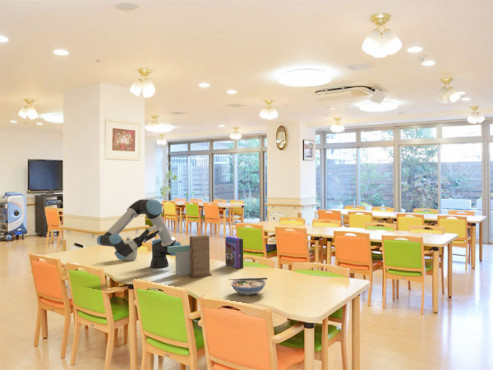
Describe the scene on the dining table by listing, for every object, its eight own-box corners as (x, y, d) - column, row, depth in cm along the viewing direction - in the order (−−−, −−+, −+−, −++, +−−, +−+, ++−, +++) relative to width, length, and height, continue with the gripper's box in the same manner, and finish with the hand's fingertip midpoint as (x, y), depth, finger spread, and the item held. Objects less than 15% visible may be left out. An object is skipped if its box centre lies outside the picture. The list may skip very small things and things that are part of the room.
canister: (120, 263, 356) (120, 239, 355) (116, 259, 371) (116, 236, 371) (141, 260, 364) (141, 237, 364) (136, 257, 380) (135, 235, 380)
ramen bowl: (227, 299, 246) (227, 286, 246) (229, 289, 269) (229, 276, 269) (269, 299, 246) (268, 285, 246) (266, 288, 269) (266, 276, 269)
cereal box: (225, 265, 341) (225, 237, 340) (230, 264, 344) (229, 236, 343) (238, 268, 328) (238, 239, 327) (243, 267, 331) (242, 238, 330)
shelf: (175, 273, 313) (175, 250, 312) (199, 270, 323) (199, 248, 323) (179, 276, 306) (179, 252, 306) (203, 272, 316) (203, 249, 316)
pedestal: (188, 275, 306) (187, 236, 306) (206, 273, 314) (205, 234, 313) (193, 278, 299) (192, 237, 298) (211, 275, 306) (210, 236, 306)
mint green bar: (167, 252, 307) (167, 246, 307) (196, 249, 319) (196, 243, 319) (169, 252, 304) (169, 247, 304) (198, 249, 316) (198, 244, 316)
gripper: (133, 245, 306) (156, 229, 315) (143, 250, 285) (167, 233, 294) (127, 237, 304) (151, 221, 313) (137, 242, 283) (162, 224, 292)
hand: (159, 227), depth 304 cm, fingers open, 13 cm apart
